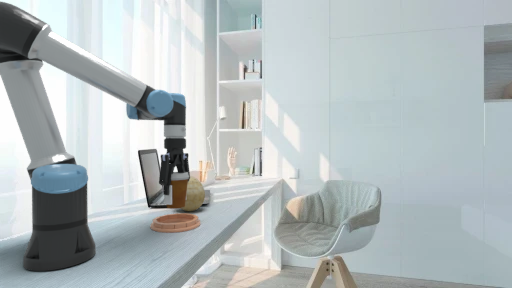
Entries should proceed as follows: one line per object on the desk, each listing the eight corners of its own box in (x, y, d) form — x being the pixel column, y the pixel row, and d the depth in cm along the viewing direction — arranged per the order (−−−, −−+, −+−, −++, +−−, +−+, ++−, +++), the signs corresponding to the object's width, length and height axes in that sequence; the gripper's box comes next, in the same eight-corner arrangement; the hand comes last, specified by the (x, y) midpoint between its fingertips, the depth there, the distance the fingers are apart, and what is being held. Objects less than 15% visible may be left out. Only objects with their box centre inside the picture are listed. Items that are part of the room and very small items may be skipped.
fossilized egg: (195, 215, 119) (195, 178, 119) (168, 213, 123) (168, 177, 123) (210, 208, 132) (209, 175, 131) (185, 207, 135) (184, 174, 135)
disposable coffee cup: (182, 210, 99) (182, 174, 99) (156, 209, 101) (156, 174, 101) (193, 204, 109) (193, 171, 109) (170, 203, 111) (169, 171, 111)
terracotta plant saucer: (154, 235, 94) (154, 227, 94) (147, 222, 109) (147, 216, 109) (206, 228, 101) (206, 221, 101) (193, 217, 116) (193, 211, 116)
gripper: (166, 137, 94) (166, 208, 94) (199, 138, 114) (199, 197, 114) (146, 137, 96) (147, 207, 96) (182, 138, 116) (182, 196, 116)
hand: (175, 201), depth 105 cm, fingers closed on disposable coffee cup, 8 cm apart
